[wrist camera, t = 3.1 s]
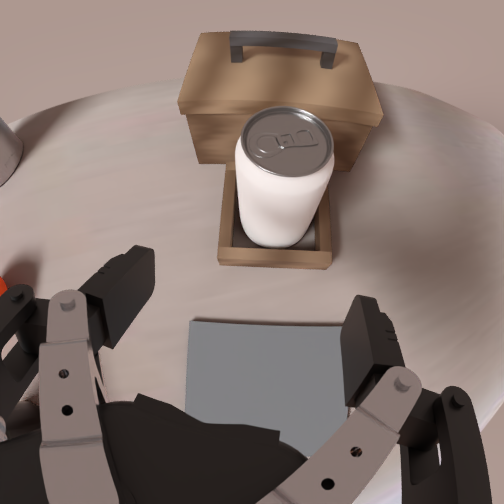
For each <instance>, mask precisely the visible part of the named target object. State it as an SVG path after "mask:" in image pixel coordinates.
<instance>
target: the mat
mask: <svg viewBox="0 0 504 504" xmlns="http://www.w3.org/2000/svg"><path fill="white" fill-rule="evenodd" d="M341 329H342V326H332V327H321V326H270V325H246V324H228V323H213V322H199V321H190V323H189V338H188V354H187V374H186V399H185V413H187V414H188V415H190V416H192V417H194V418H196V419H198V420H199V421H202V422H204V423H214V424H247V425H251V426H257V427H262V428H267V429H273V430H279V431H280V438H279V440H280V441H282V442H285V443H286V444H288V445H290V446H292V447H294V448H295V449H297V450H298V451H300V452H301V453H302V454H303V455H304V456H306V457H307V456H312V455H313V454H314V453H315V452H316V451H317V450H318V449H319V448H320V447H321V446H322V445H323V444H324V443H325V442H326V441H327V440H328V439H329V438H330V437H331V436H332V435H333V434H334V433H335V432H336V431H337V430H338V429H339V428H340V426H341V425H342V424H343V423H344V422H345V421H346V420H347V414H348V407H345V398H344V382H343V368H342V356H341V345H340V333H341Z"/></svg>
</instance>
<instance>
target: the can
mask: <svg viewBox="0 0 504 504" xmlns="http://www.w3.org/2000/svg"><path fill="white" fill-rule="evenodd" d="M333 150H334V142H333V137H332V134H331V132H330V130H329V129H328V127H327V126H326V125H325V123H324V122H323V121H322V120H321V119H319V118H318V117H317V116H315V115H314V114H312V113H310V112H308V111H306V110H303V109H300V108H296V107H291V106H275V107H269V108H266V109H263V110H261V111H259V112H257V113H255V114H254V115H252V116H251V117H250V118H249V119H248V120H247V121H246V123H245V124H244V126H243V128H242V131H241V136H240V138H239V140H238V142H237V145H236V150H235V165H236V178H237V189H238V200H239V211H240V219H241V224H242V226H243V229H244V231H245V233H246V234H247V236H248V237H249V238H250V239H251V240H252V241H253V242H255V243H256V244H258V245H260V246H262V247H265V248H269V249H283V248H287V247H290V246H292V245H294V244H295V243H297V242H298V241H299V240H300V239H301V238H302V237H303V236H304V234H305V233H306V231H307V229H308V227H309V225H310V223H311V220H312V218H313V216H314V214H315V212H316V209H317V207H318V205H319V203H320V200H321V198H322V196H323V194H324V191H325V189H326V187H327V184H328V182H329V179H330V177H331V174H332V171H333V167H334V153H333Z"/></svg>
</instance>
